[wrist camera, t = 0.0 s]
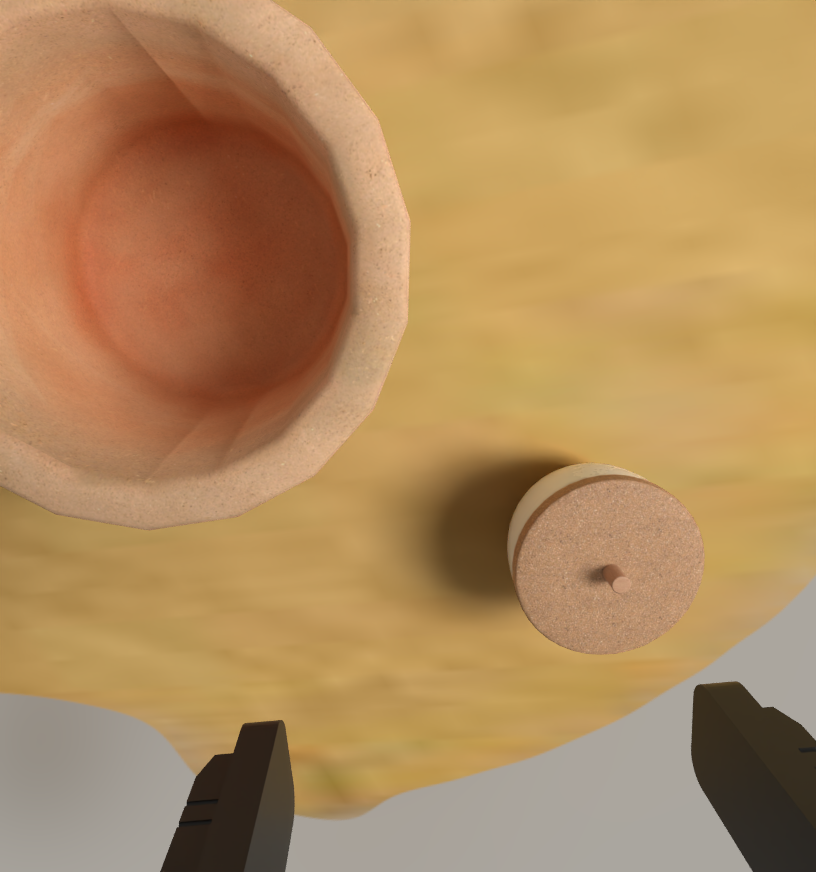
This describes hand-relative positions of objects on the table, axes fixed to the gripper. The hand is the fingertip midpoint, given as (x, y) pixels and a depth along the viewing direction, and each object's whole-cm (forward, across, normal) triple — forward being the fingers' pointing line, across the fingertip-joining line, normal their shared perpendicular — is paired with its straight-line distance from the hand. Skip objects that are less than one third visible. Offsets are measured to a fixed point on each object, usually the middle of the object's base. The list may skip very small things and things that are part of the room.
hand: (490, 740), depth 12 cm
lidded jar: (+30, -10, +8) cm, 32 cm away
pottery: (+30, +11, -10) cm, 33 cm away
